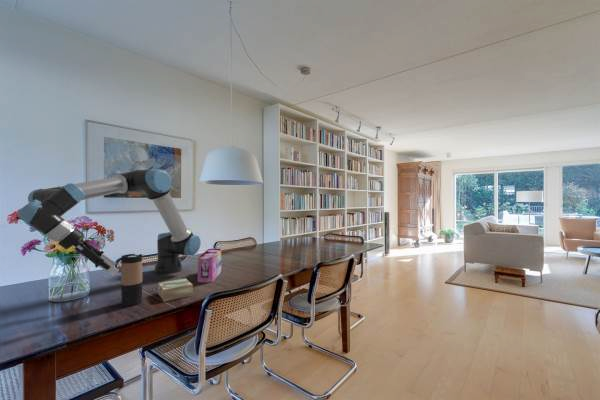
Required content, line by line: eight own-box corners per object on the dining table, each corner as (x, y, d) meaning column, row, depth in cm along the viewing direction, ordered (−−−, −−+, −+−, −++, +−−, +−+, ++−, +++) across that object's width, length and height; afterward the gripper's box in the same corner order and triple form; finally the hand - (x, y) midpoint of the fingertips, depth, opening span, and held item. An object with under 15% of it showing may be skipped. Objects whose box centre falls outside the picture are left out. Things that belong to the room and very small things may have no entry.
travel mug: (122, 308, 112) (122, 258, 111) (119, 302, 117) (119, 255, 117) (144, 303, 117) (144, 255, 116) (140, 298, 122) (140, 252, 122)
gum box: (212, 283, 144) (212, 257, 144) (196, 283, 144) (196, 257, 143) (221, 271, 168) (221, 248, 168) (208, 271, 167) (208, 248, 167)
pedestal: (158, 293, 128) (158, 282, 128) (185, 288, 136) (185, 277, 136) (163, 301, 119) (163, 289, 119) (192, 295, 126) (192, 284, 126)
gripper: (59, 238, 112) (105, 270, 121) (53, 248, 92) (108, 285, 101) (76, 224, 115) (119, 256, 124) (74, 230, 95) (126, 268, 104)
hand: (115, 269), depth 113 cm, fingers open, 13 cm apart
